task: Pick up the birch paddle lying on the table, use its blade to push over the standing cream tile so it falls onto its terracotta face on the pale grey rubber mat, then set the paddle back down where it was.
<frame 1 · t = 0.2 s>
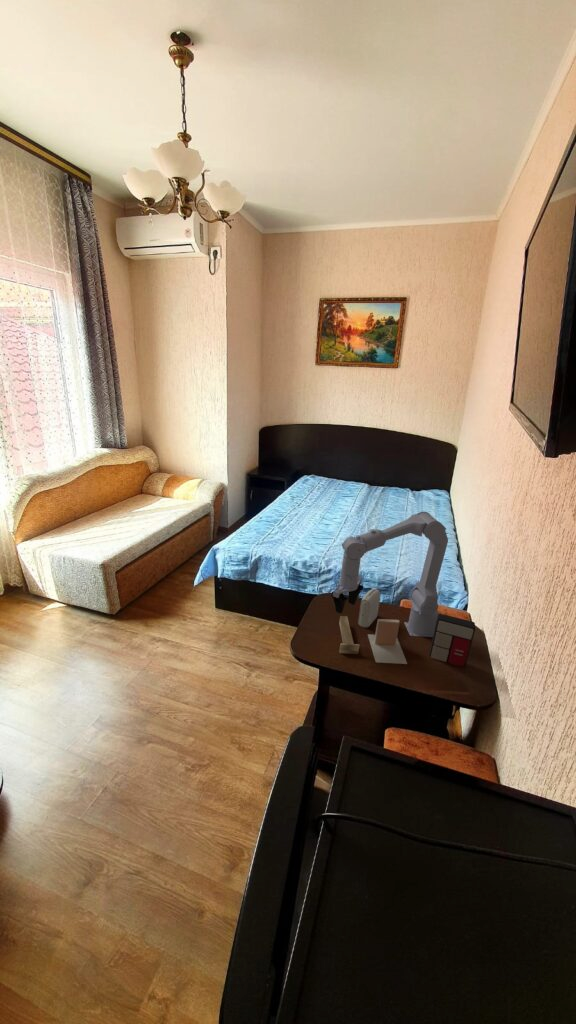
hand: (345, 607, 138), 10 cm above the table, tool pointing down, fingers open, 7 cm apart
tile: (384, 643, 136), point 1 cm above the table, touching mat
calculator: (446, 660, 131), on the table
mat: (386, 649, 134), on the table
paddle: (345, 639, 138), on the table
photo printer: (367, 621, 149), on the table
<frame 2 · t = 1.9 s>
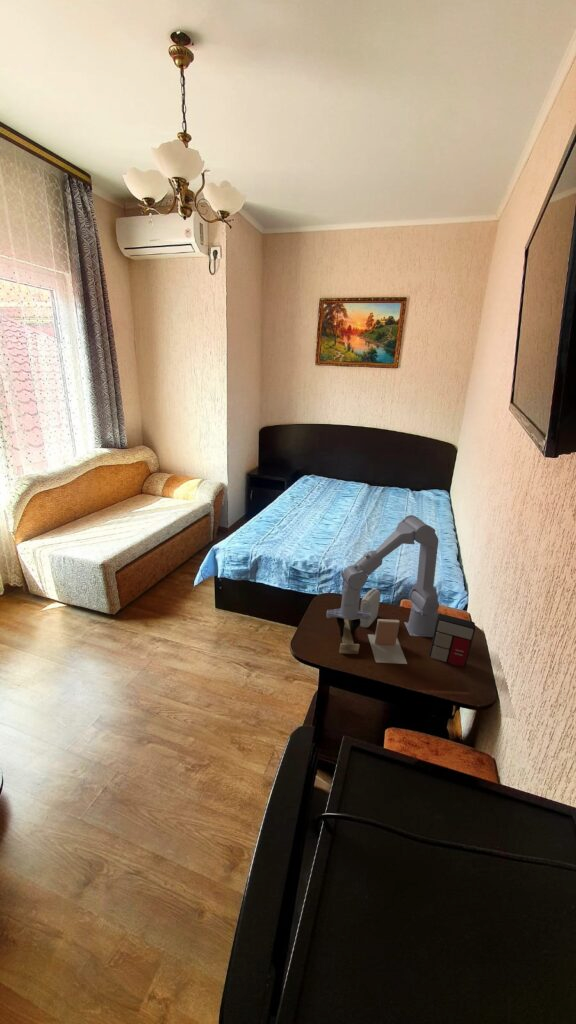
hand: (345, 635, 138), 1 cm above the table, tool pointing down, fingers closed on paddle, 2 cm apart
paddle: (345, 639, 138), on the table, touching gripper
everything else where it was.
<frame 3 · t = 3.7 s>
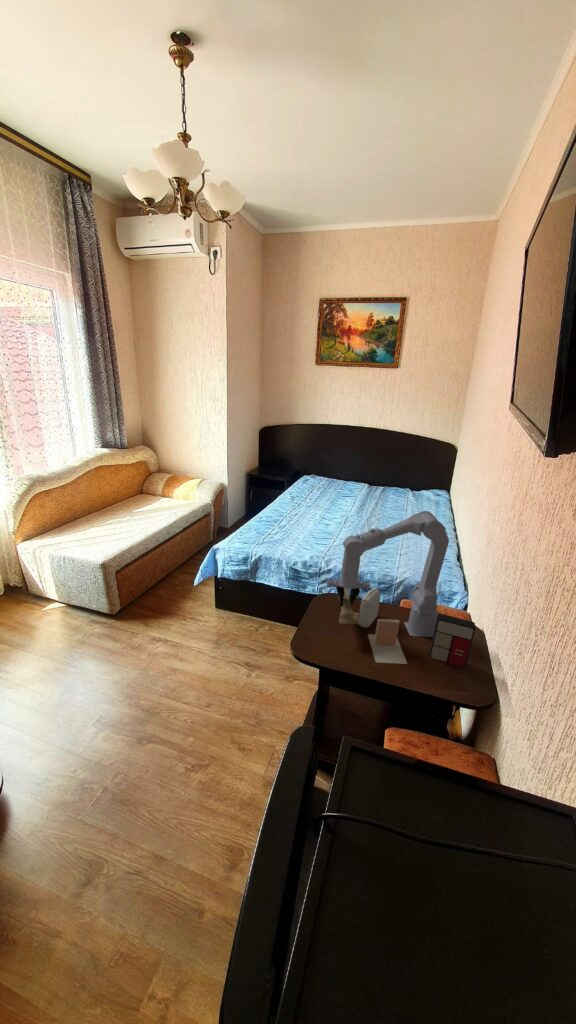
hand: (345, 605, 141), 9 cm above the table, tool pointing down, fingers closed on paddle, 2 cm apart
paddle: (345, 609, 142), point 7 cm above the table, touching gripper
everything else where it was.
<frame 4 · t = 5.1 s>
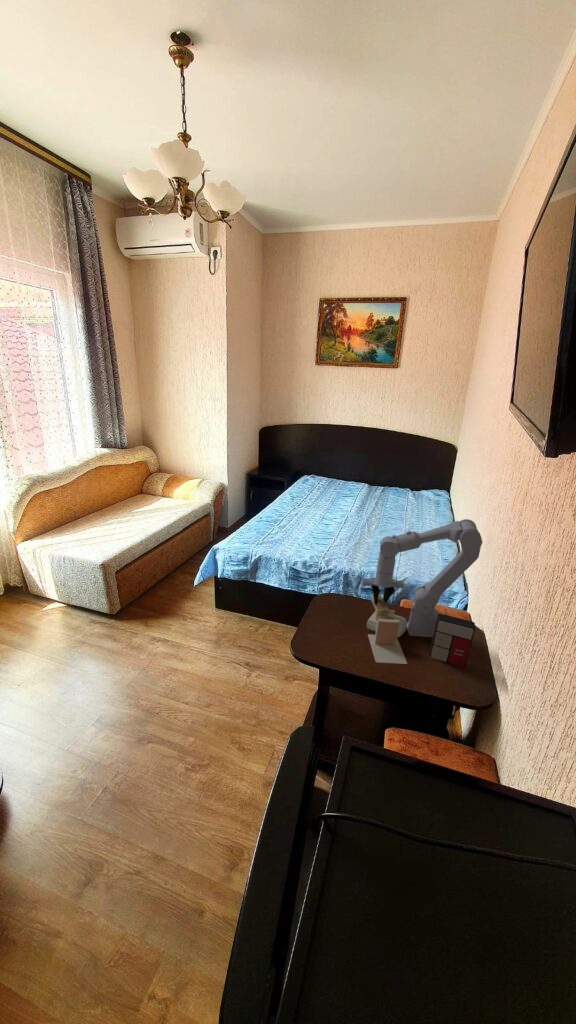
hand: (379, 603, 146), 8 cm above the table, tool pointing down, fingers closed on paddle, 2 cm apart
paddle: (379, 610, 146), point 6 cm above the table, tilted 8°, touching gripper
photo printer: (370, 618, 147), point 2 cm above the table, touching arm, mat
everything else where it was.
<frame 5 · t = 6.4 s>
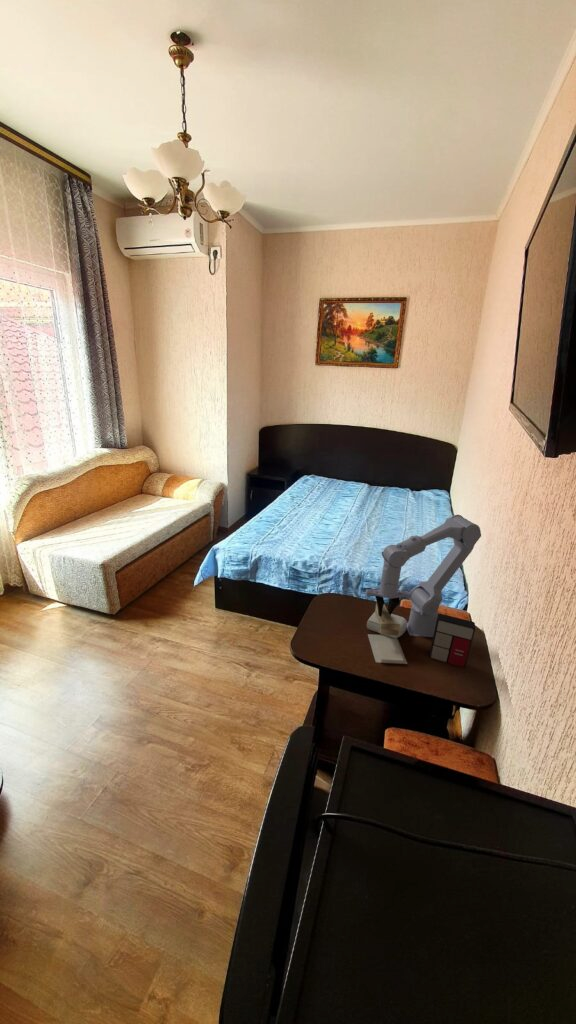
hand: (384, 614, 139), 8 cm above the table, tool pointing down, fingers closed on paddle, 2 cm apart
tile: (385, 643, 135), point 1 cm above the table, tilted 90°, touching mat
paddle: (383, 622, 139), point 5 cm above the table, tilted 7°, touching gripper
everything else where it was.
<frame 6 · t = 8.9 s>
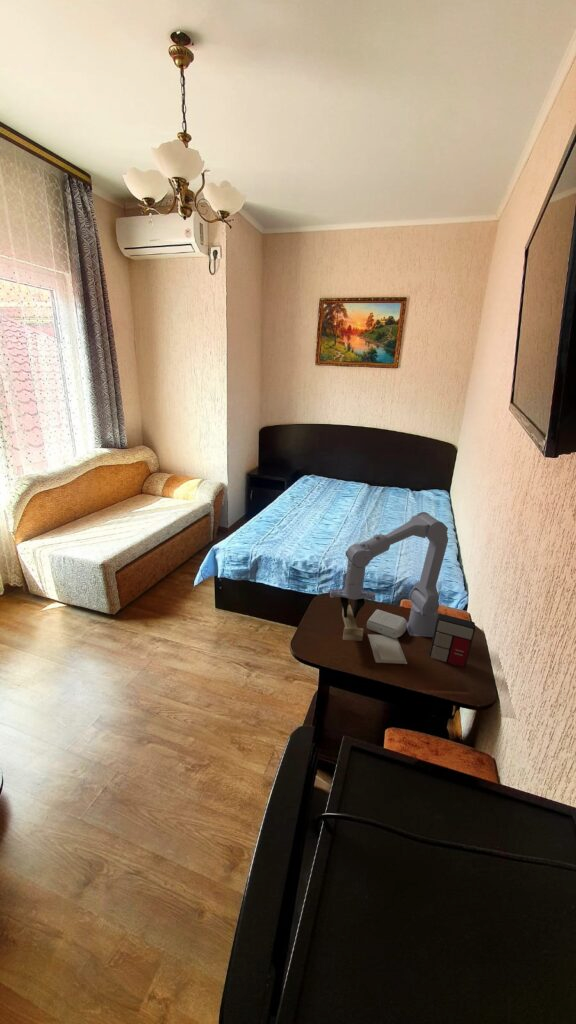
hand: (349, 616, 135), 9 cm above the table, tool pointing down, fingers closed on paddle, 2 cm apart
paddle: (348, 626, 136), point 6 cm above the table, touching gripper
everything else where it was.
when the fingers open (3 cm above the table, at t = 10.4 s): paddle stays where it is, on the table.
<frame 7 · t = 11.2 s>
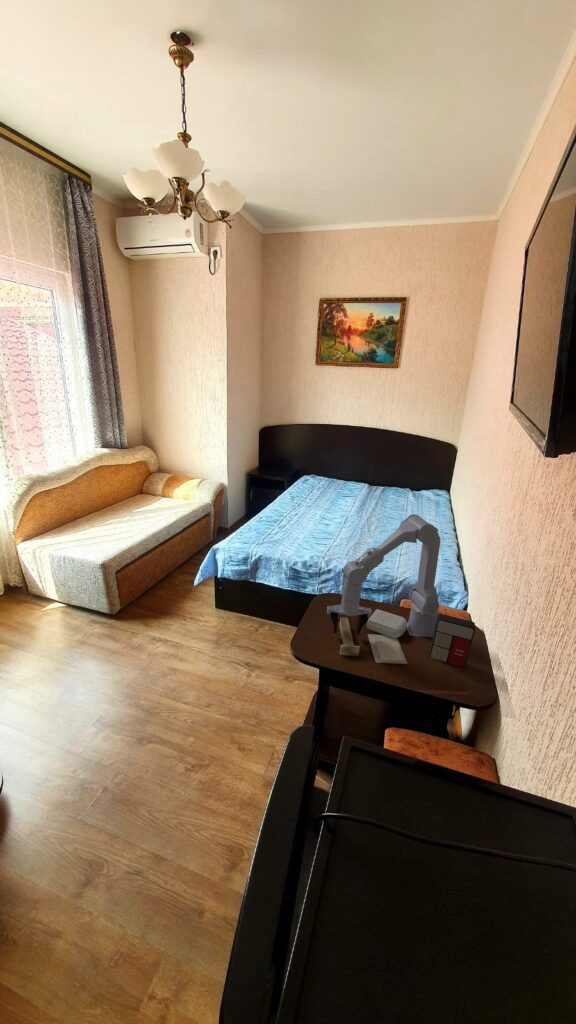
hand: (346, 631, 137), 3 cm above the table, tool pointing down, fingers open, 7 cm apart
paddle: (345, 640, 137), on the table
everything else where it was.
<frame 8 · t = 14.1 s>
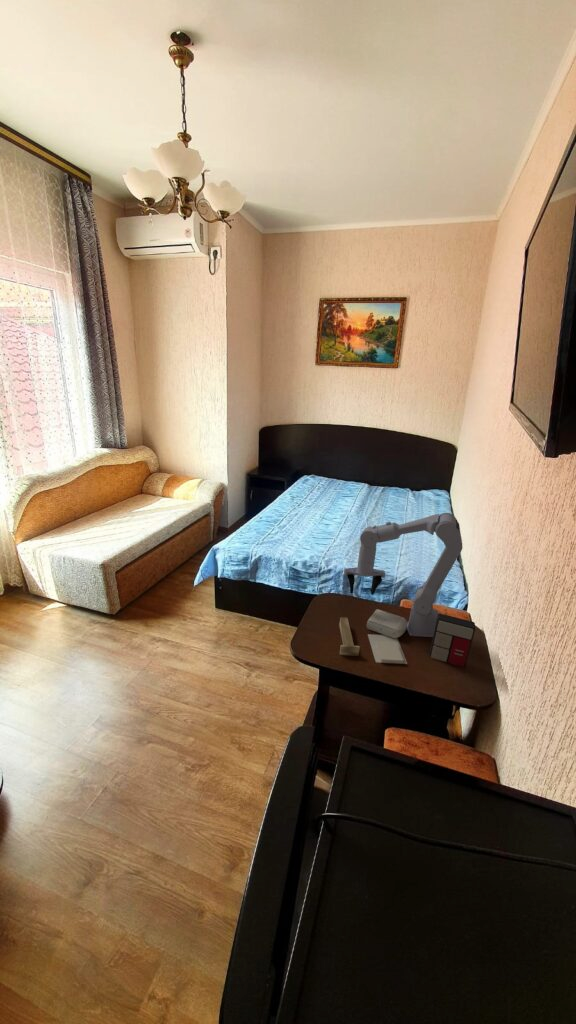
hand: (361, 592, 149), 9 cm above the table, tool pointing down, fingers open, 7 cm apart
nothing on the table moved.
at the end: tile tilted 90°; tile inside the target area (0.7 cm from its centre), point 1.3 cm above the table; paddle inside the target area (0.8 cm from its centre), on the table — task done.
